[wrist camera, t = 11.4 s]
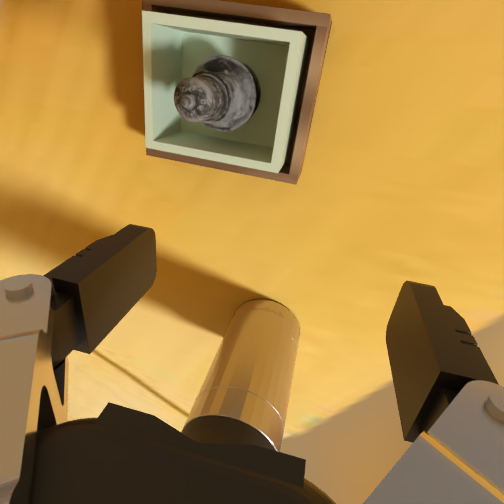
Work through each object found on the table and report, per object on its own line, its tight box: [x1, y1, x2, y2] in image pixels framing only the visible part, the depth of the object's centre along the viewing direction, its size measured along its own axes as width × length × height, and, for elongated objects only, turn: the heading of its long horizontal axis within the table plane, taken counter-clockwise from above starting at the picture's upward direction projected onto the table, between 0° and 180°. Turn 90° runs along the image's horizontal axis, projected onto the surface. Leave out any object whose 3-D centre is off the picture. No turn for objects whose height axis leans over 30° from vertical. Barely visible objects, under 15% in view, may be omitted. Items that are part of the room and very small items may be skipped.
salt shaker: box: [174, 55, 261, 132], centre depth 26 cm, size 6×6×12 cm
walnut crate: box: [142, 0, 332, 184], centre depth 31 cm, size 13×15×4 cm
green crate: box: [142, 10, 310, 173], centre depth 29 cm, size 10×12×6 cm
